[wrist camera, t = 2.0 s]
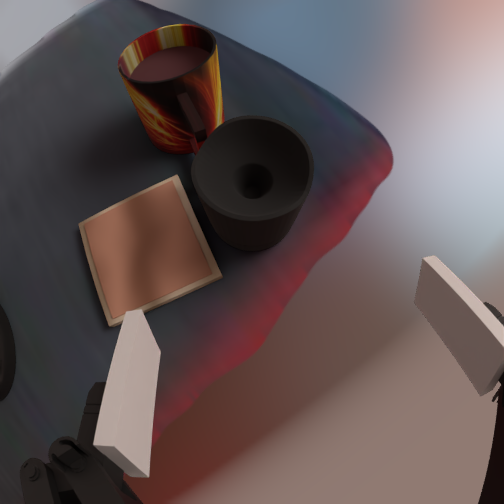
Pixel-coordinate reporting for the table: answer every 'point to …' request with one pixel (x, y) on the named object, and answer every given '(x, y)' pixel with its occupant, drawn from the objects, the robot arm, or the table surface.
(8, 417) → the table surface
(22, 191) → the table surface
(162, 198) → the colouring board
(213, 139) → the pen holder
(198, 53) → the mug
